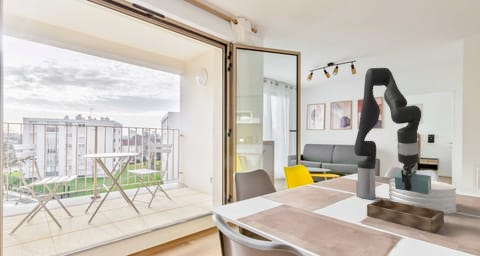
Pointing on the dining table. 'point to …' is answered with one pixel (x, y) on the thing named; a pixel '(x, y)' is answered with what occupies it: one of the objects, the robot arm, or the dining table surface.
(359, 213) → the dining table surface
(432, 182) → the plate stack
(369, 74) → the robot arm
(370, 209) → the tray
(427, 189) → the teal open box
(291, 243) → the dining table surface
